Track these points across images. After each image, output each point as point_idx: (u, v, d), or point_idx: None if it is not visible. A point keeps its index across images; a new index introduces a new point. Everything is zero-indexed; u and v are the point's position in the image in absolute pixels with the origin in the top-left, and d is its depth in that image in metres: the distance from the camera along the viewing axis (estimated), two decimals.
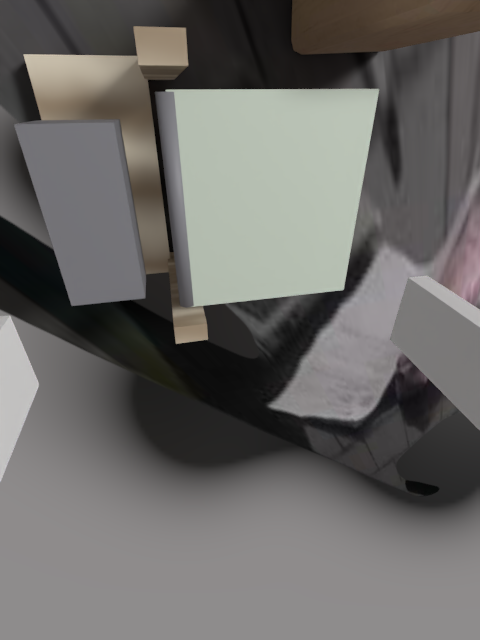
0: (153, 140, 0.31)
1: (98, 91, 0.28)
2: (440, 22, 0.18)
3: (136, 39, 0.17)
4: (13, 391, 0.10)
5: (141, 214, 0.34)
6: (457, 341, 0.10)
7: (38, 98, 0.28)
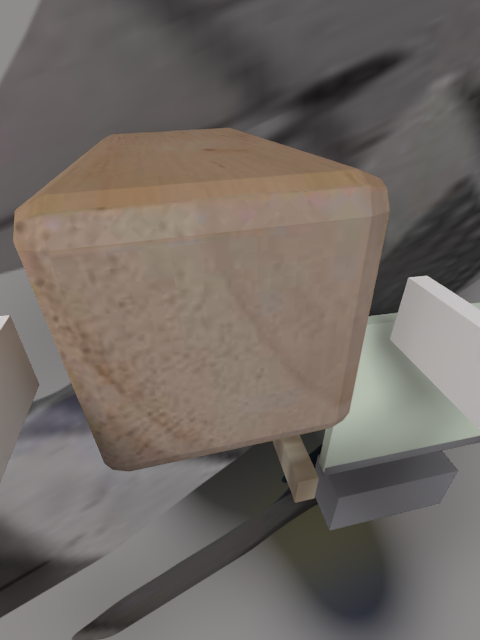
0: None
1: None
2: None
3: (301, 500, 0.25)
4: (13, 391, 0.10)
5: None
6: (457, 341, 0.10)
7: None
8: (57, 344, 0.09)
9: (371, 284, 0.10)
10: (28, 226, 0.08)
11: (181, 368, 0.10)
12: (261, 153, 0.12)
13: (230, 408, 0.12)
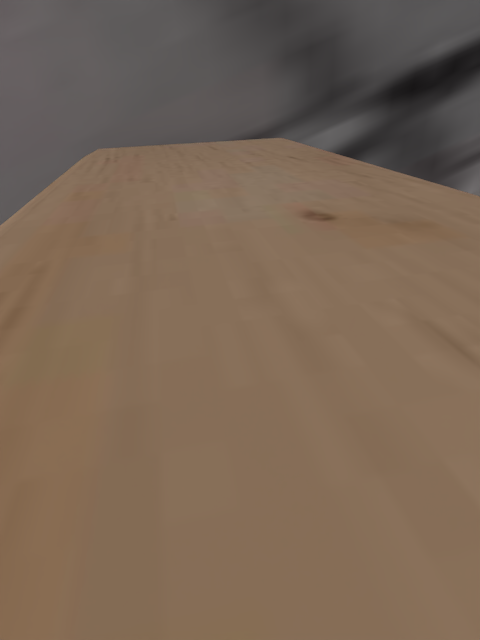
0: None
1: None
2: None
3: None
4: None
5: None
6: None
7: None
8: None
9: None
10: None
11: None
12: None
13: None
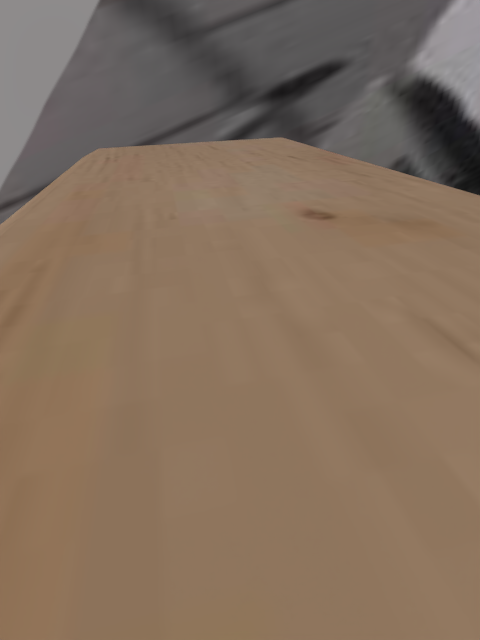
0: None
1: None
2: None
3: None
4: None
5: None
6: None
7: None
8: None
9: None
10: None
11: None
12: None
13: None
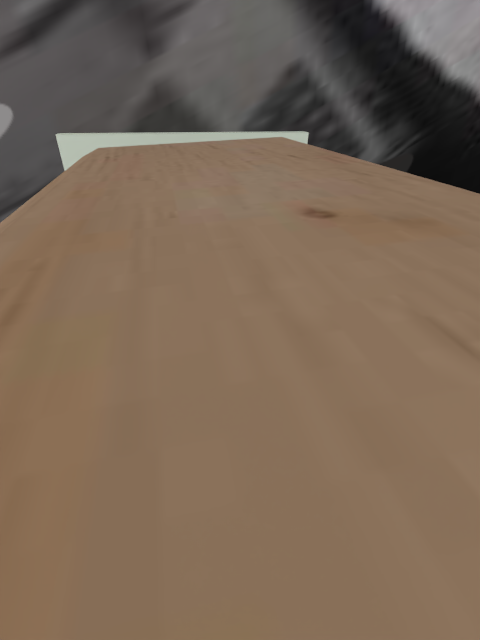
0: None
1: None
2: None
3: None
4: None
5: None
6: None
7: None
8: None
9: None
10: None
11: None
12: None
13: None
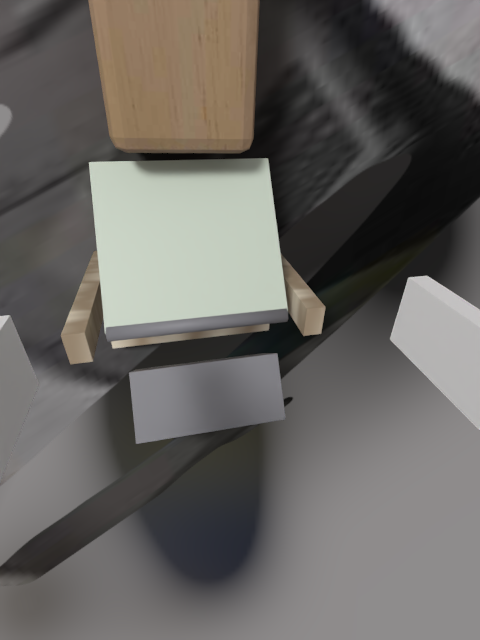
0: None
1: None
2: None
3: (77, 362, 0.24)
4: (13, 391, 0.10)
5: None
6: (457, 341, 0.10)
7: (137, 344, 0.40)
8: None
9: None
10: None
11: None
12: None
13: None
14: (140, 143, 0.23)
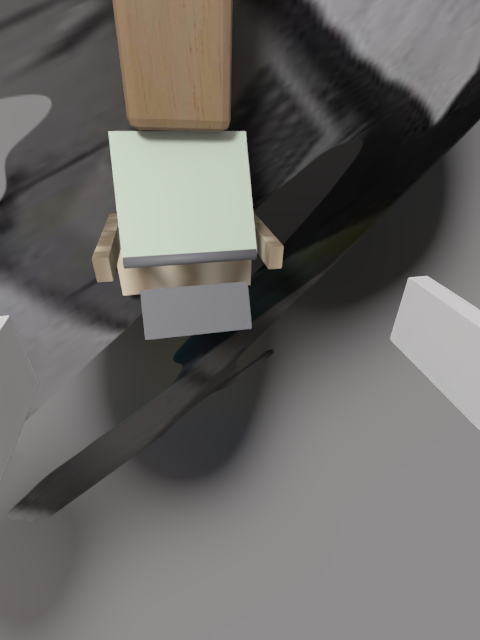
0: None
1: None
2: None
3: (102, 281, 0.34)
4: (13, 391, 0.10)
5: None
6: (457, 341, 0.10)
7: None
8: None
9: None
10: None
11: None
12: None
13: None
14: (148, 122, 0.32)
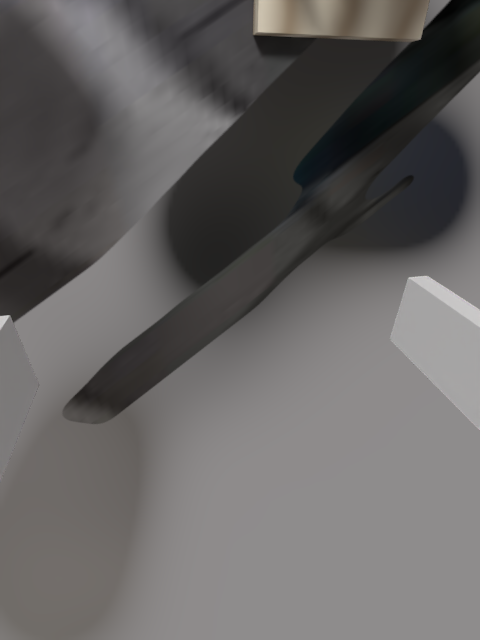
0: None
1: None
2: None
3: None
4: (13, 391, 0.10)
5: None
6: (457, 341, 0.10)
7: (284, 30, 0.36)
8: None
9: None
10: None
11: None
12: None
13: None
14: None
